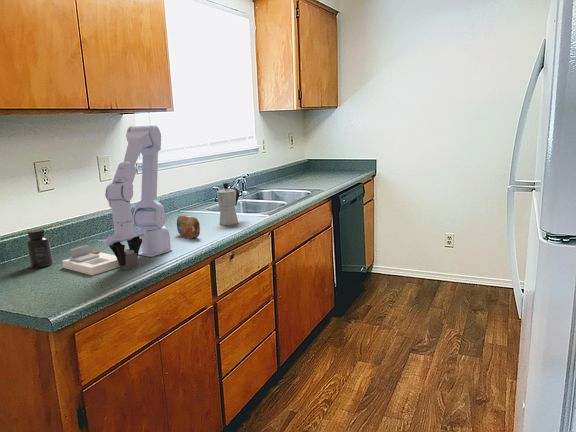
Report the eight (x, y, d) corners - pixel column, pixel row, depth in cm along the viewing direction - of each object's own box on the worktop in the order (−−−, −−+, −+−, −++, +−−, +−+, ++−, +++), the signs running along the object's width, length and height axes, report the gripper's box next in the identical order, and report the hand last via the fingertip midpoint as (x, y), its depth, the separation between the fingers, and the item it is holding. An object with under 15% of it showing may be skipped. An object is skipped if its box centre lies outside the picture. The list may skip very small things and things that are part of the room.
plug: (130, 264, 150) (128, 248, 149) (138, 266, 147) (136, 249, 146) (119, 268, 147) (117, 251, 146) (127, 270, 144) (125, 253, 143)
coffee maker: (227, 227, 198) (224, 185, 194) (211, 225, 202) (208, 184, 199) (248, 220, 210) (245, 180, 206) (233, 218, 215) (230, 180, 211)
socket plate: (96, 258, 160) (95, 249, 160) (126, 264, 150) (125, 255, 150) (63, 267, 151) (61, 258, 150) (92, 275, 141) (91, 265, 140)
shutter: (88, 254, 156) (86, 244, 155) (99, 256, 152) (97, 246, 152) (69, 259, 151) (67, 249, 150) (80, 262, 147) (78, 251, 146)
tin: (177, 234, 189) (174, 214, 188) (184, 233, 191) (182, 213, 190) (195, 240, 178) (193, 218, 176) (202, 238, 180) (200, 217, 178)
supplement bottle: (57, 261, 159) (51, 227, 156) (47, 267, 152) (41, 232, 150) (36, 263, 158) (30, 229, 156) (26, 269, 152) (20, 233, 149)
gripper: (134, 215, 152) (139, 255, 155) (94, 224, 141) (100, 267, 143) (148, 217, 148) (153, 258, 151) (107, 226, 137) (113, 270, 139)
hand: (128, 263), depth 147 cm, fingers closed on plug, 4 cm apart
